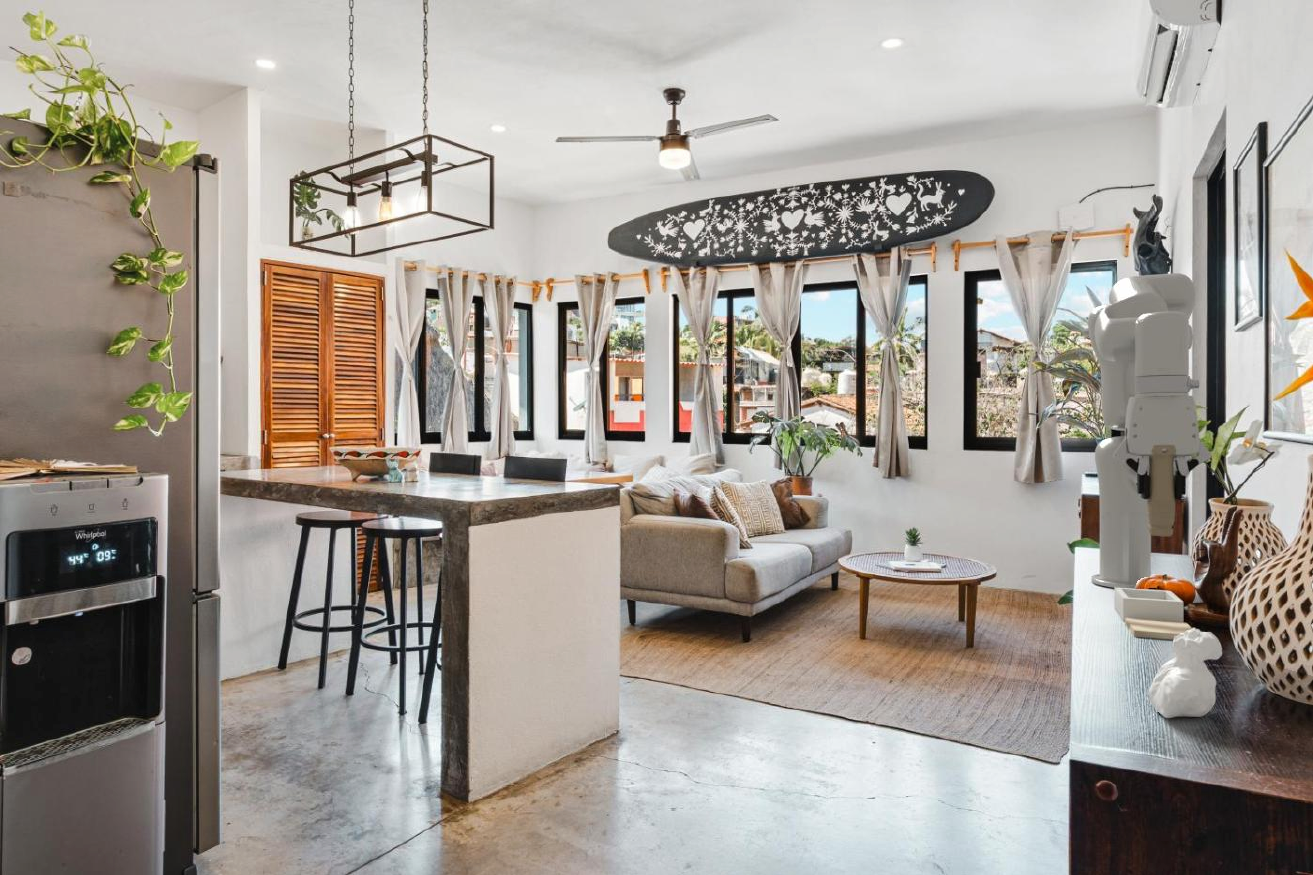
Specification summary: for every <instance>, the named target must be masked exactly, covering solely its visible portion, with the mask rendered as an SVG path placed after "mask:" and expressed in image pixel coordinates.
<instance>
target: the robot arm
mask: <svg viewBox="0 0 1313 875" xmlns="http://www.w3.org/2000/svg"><path fill="white" fill-rule="evenodd" d="M1196 293H1197V292H1196V287H1195V284H1194V282H1193V281H1192V279H1191V278H1190V277H1189V276H1188V275H1186V274H1183V273H1180V272H1178V273H1174V272H1173V273H1172V272H1171V273H1162V274H1161V273H1160V274H1145V275H1135V276H1128V277H1125V278H1123V279H1120V280H1119V281H1117V282H1116V283H1115V284H1114V285H1113V286H1112V288H1111V290H1110V291H1109V293H1108V294H1109V295H1108V301H1109V303H1107V304H1103V305H1098V306H1097V307H1095V308H1094V309H1092V310H1091V311H1090V313H1089V314H1088V319H1087V330H1088V337H1089V340H1090V344H1091V346H1092V349H1093V352H1094V354H1095V356H1096V359H1097V361H1098V364H1099V368H1100V387H1101V388H1100V391H1101V393H1100V394H1101V414H1102V420H1103V424H1104V425H1105V427H1107V428H1108V429H1110V430H1115V431H1124V435H1123V436H1113V437H1107V438H1105V439H1103V440H1101V441H1100V442H1099V443H1098V444H1097V445H1096V447H1095V450H1094V461H1095V467H1096V472H1097V473H1096V474H1097V480H1098V490H1099V492H1098V493H1099V494H1098V496H1099V574H1093V575H1092V576H1091V577H1090V578H1091V582H1092V583H1093V584H1095V585H1098V586H1102V587H1106V588H1112V589H1114V587H1115V588H1131V589H1134V588H1135V586H1136V583H1137V581H1138V580H1140V579H1141V578H1144V577H1150V576H1151V577H1152V535H1151V534H1150V531H1149V527H1151V525H1150V524H1149V521H1148V514H1147V512H1148V511H1147V508H1148V507H1147V501H1148V499H1149V498H1150V477H1149V456H1155V454H1152V453H1151V451H1152V449H1153V446H1154V445H1175V448H1176V454H1173V455H1172V456H1176V457H1175V458H1174V463H1173V470H1174V487H1175V501H1176V500H1177V501H1182V499H1183V496H1185V495H1186V494H1187V492H1186V491H1187V490H1186V489H1187V478H1189V476H1190V474H1191V471H1193V470H1194V469H1195V468H1196V467H1197V466H1199V465H1201V464H1202V463H1204V462H1206V461H1207V460H1210V459H1211V458H1212V457H1213V455H1212V453H1211V452H1210V451H1209V449H1208V448H1207V447H1206V445H1205V444H1204V442H1202V440H1201V439H1200V430H1199V421H1198V411H1197V406H1196V402H1195V397H1194V395H1189V394H1190V392H1191V391H1192V390H1193V389H1199V388H1200V380H1199V379H1192V378H1191V376H1190V373H1189V372H1190V367H1189V366H1190V365H1189V364H1190V362H1189V360H1190V358H1189V355H1190V354H1189V352H1190V350H1191V349H1192V346H1193V340H1194V334H1193V327H1192V325H1190V322H1189V320H1190V318H1191V315H1192V313H1193V311H1194V308H1195V304H1196V300H1197V298H1196V297H1197V296H1196ZM1162 451H1167V449H1166V448H1163V449H1162ZM1196 454H1197V455H1196ZM1194 455H1195V456H1194ZM1192 456H1193V457H1192Z"/></svg>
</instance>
